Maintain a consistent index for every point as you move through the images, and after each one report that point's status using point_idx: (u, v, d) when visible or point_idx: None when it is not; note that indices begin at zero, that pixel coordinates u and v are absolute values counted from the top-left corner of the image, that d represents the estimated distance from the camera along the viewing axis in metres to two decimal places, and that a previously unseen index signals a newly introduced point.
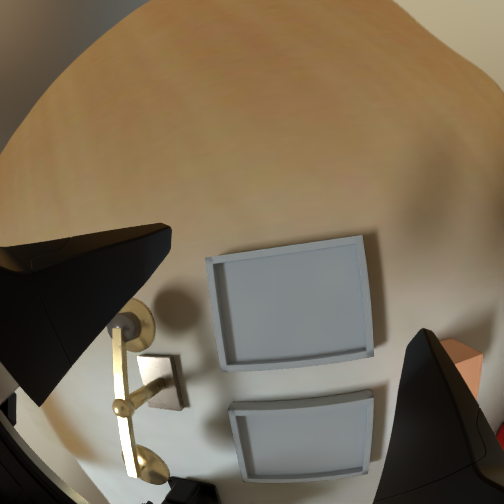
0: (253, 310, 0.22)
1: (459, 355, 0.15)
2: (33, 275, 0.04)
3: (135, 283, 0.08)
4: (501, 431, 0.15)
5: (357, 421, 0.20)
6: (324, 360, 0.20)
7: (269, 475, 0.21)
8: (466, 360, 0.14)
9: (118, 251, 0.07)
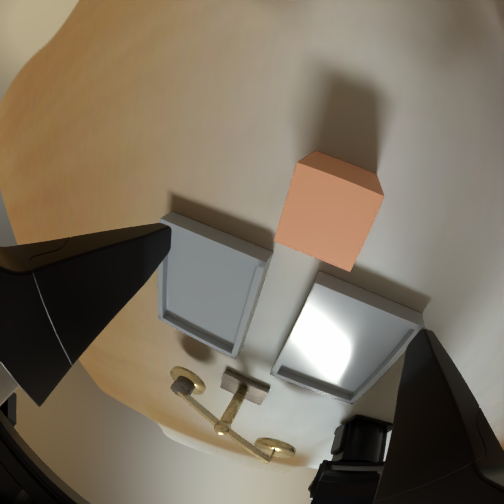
0: (200, 314, 0.27)
1: None
2: (32, 275, 0.04)
3: (135, 283, 0.08)
4: None
5: (343, 302, 0.21)
6: (250, 300, 0.23)
7: (361, 386, 0.24)
8: (288, 195, 0.13)
9: (118, 251, 0.07)
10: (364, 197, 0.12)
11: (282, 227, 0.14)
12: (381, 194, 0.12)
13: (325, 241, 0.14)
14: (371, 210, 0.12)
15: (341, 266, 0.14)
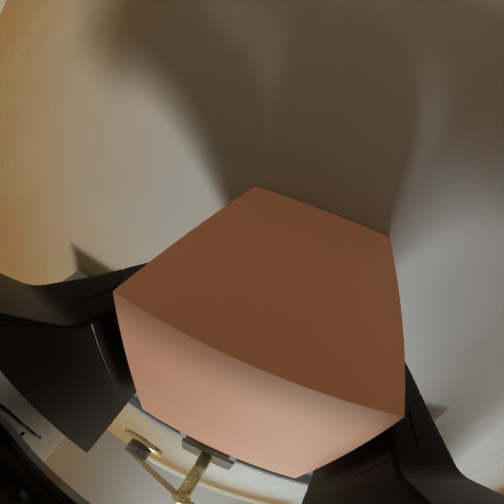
0: None
1: None
2: (90, 326, 0.04)
3: None
4: None
5: None
6: None
7: None
8: (129, 358, 0.05)
9: None
10: (335, 415, 0.03)
11: (145, 400, 0.05)
12: (396, 404, 0.03)
13: (235, 445, 0.05)
14: (354, 435, 0.03)
15: (276, 471, 0.05)
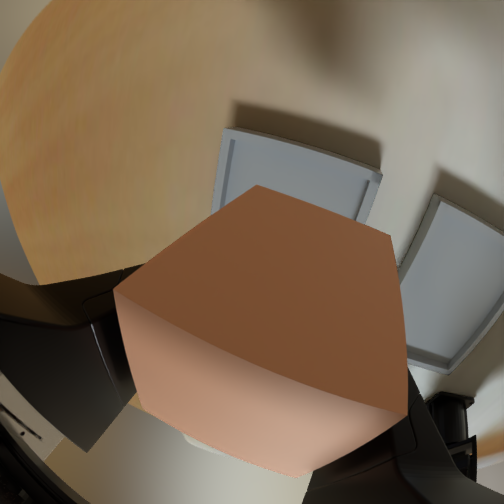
0: None
1: None
2: (90, 326, 0.04)
3: None
4: None
5: (462, 231, 0.14)
6: None
7: (461, 349, 0.17)
8: (129, 357, 0.05)
9: None
10: (337, 414, 0.03)
11: (146, 399, 0.05)
12: (400, 402, 0.03)
13: (236, 445, 0.05)
14: (356, 434, 0.03)
15: (277, 471, 0.05)
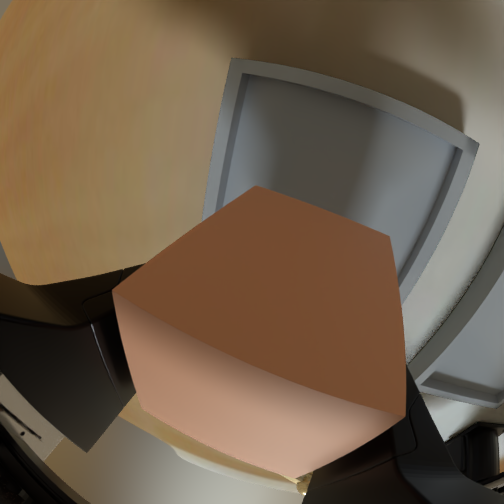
0: None
1: None
2: (89, 326, 0.04)
3: None
4: None
5: None
6: (434, 234, 0.09)
7: None
8: (128, 358, 0.05)
9: None
10: (335, 415, 0.03)
11: (145, 400, 0.05)
12: (398, 404, 0.03)
13: (235, 445, 0.05)
14: (354, 435, 0.03)
15: (276, 471, 0.05)
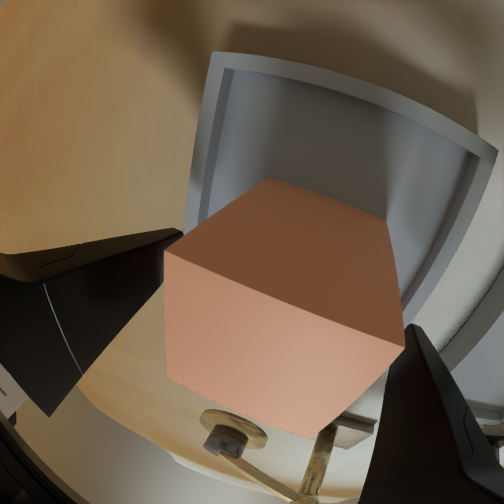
0: None
1: None
2: (43, 285, 0.04)
3: (147, 290, 0.08)
4: None
5: None
6: (444, 254, 0.08)
7: None
8: (166, 318, 0.06)
9: (131, 258, 0.07)
10: (349, 348, 0.04)
11: (174, 364, 0.07)
12: (398, 337, 0.04)
13: (258, 401, 0.06)
14: (364, 372, 0.04)
15: (292, 431, 0.06)
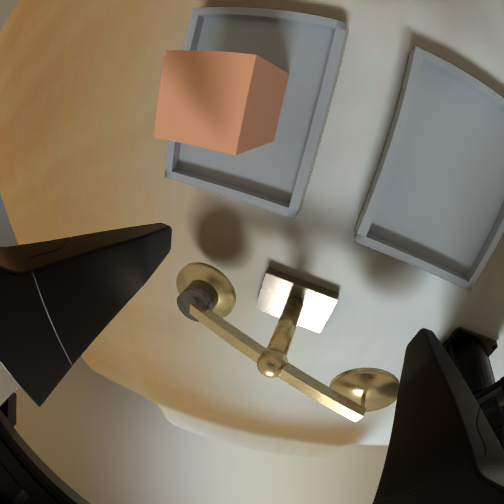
0: None
1: None
2: (33, 275, 0.04)
3: (135, 283, 0.08)
4: None
5: (450, 87, 0.10)
6: (327, 81, 0.12)
7: (480, 252, 0.14)
8: (161, 84, 0.10)
9: (118, 251, 0.07)
10: (234, 61, 0.09)
11: (159, 119, 0.11)
12: (254, 55, 0.09)
13: (201, 122, 0.11)
14: (244, 73, 0.09)
15: (223, 149, 0.11)
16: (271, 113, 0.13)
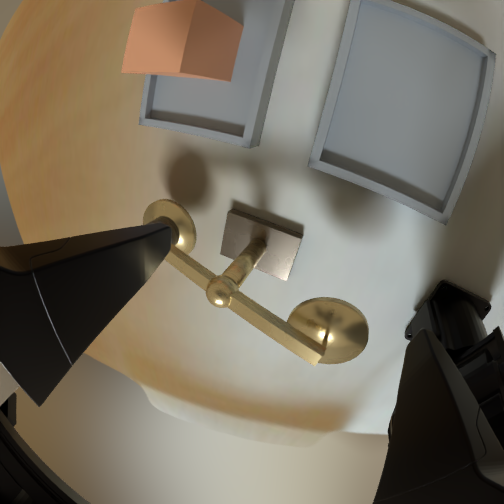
0: (199, 89, 0.17)
1: None
2: (33, 275, 0.04)
3: (135, 283, 0.08)
4: None
5: (393, 21, 0.10)
6: (273, 25, 0.12)
7: (452, 181, 0.13)
8: (130, 32, 0.10)
9: (118, 251, 0.07)
10: (181, 6, 0.09)
11: (126, 58, 0.11)
12: None
13: (156, 53, 0.11)
14: (188, 12, 0.09)
15: (170, 70, 0.11)
16: (223, 53, 0.13)
